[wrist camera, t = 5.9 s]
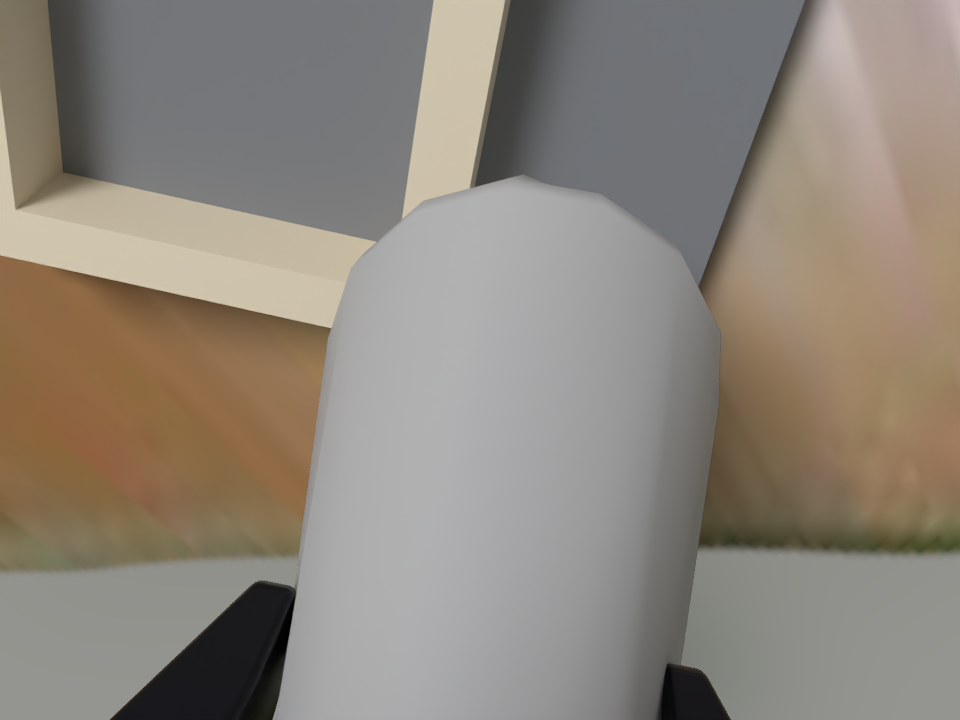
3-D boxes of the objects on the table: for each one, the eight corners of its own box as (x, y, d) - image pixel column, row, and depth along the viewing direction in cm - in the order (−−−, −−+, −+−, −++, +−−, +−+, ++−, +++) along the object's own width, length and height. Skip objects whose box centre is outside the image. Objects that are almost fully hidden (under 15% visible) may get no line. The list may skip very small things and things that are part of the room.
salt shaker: (783, 262, 15) (1229, 1638, 4) (571, 472, 18) (508, 1582, 7) (482, 50, 13) (-30, 1259, 3) (308, 316, 16) (-257, 1388, 6)
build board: (877, -234, 16) (926, -228, 13) (655, 373, 23) (660, 450, 21) (-46, -440, 15) (-171, -473, 13) (32, 235, 23) (-38, 295, 20)
